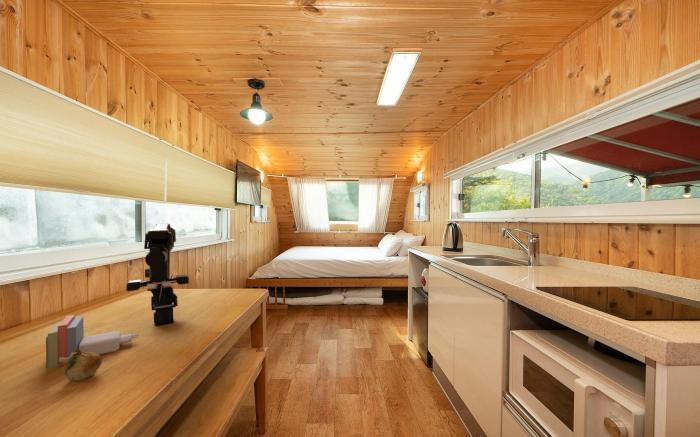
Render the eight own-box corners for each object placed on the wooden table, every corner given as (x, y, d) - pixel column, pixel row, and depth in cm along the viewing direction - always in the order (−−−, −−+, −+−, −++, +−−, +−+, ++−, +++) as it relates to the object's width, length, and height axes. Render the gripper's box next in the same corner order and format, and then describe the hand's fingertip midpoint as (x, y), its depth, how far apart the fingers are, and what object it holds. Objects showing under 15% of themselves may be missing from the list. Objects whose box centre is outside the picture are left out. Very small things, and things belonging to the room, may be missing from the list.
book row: (83, 348, 96) (83, 313, 96) (76, 362, 86) (75, 323, 86) (56, 353, 92) (55, 317, 92) (45, 369, 82) (44, 328, 82)
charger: (138, 347, 96) (78, 360, 87) (139, 338, 104) (84, 349, 95) (138, 333, 96) (78, 345, 87) (139, 325, 104) (83, 335, 95)
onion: (76, 388, 72) (76, 357, 72) (56, 383, 75) (56, 353, 75) (109, 372, 80) (108, 344, 80) (90, 368, 82) (89, 341, 82)
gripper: (185, 258, 115) (186, 296, 115) (128, 263, 104) (128, 305, 104) (188, 261, 106) (189, 302, 106) (126, 267, 95) (126, 313, 95)
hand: (159, 305), depth 103 cm, fingers closed
